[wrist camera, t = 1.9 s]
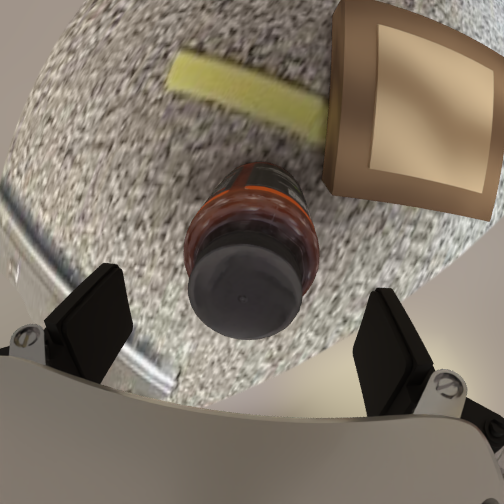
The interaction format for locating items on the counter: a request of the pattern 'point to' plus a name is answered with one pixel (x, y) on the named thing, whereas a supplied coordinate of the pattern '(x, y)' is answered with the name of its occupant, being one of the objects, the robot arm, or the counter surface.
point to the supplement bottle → (251, 253)
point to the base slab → (413, 112)
